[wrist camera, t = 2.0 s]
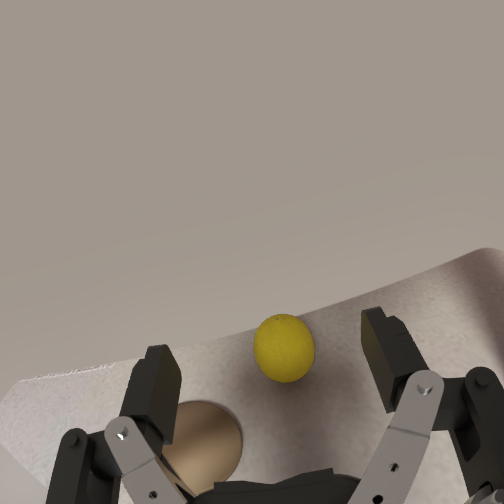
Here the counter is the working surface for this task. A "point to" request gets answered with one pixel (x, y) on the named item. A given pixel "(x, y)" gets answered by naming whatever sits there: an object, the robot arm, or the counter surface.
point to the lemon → (284, 348)
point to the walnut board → (204, 445)
